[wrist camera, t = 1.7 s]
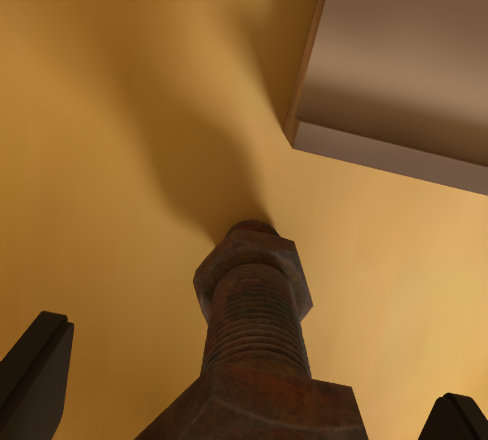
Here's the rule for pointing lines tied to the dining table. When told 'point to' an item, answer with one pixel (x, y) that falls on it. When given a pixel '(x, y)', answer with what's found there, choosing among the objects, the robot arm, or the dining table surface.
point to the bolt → (256, 352)
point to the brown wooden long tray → (397, 88)
